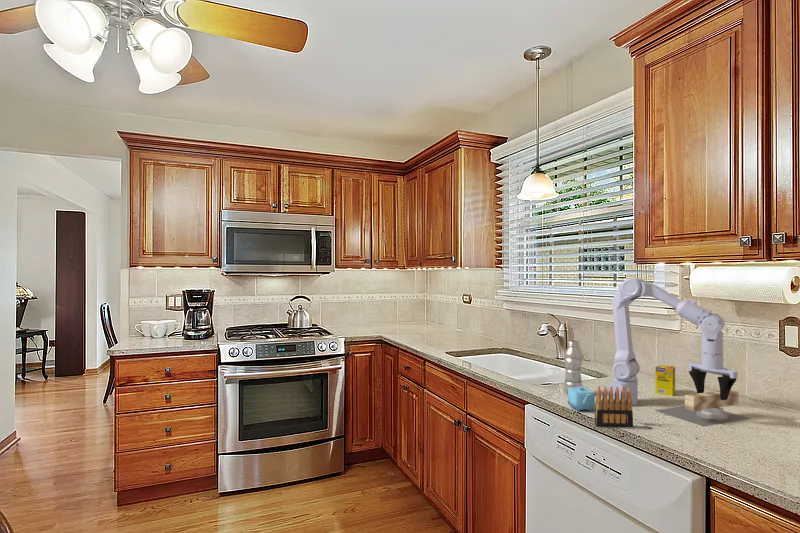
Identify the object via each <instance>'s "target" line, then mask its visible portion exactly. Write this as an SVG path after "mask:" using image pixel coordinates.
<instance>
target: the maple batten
mask: <svg viewBox="0 0 800 533" xmlns="http://www.w3.org/2000/svg"><path fill="white" fill-rule="evenodd" d="M739 402H740V393H739V391H736V390H732V389H731V390H730V392H729V395H728V399H727V400H721V399H720V390H715V391H708V392H704V393H698V394H697V393H692V394H691V393H690V394H685V395H684V406H685V408H686V409H689V410H692V411H697V410H704V409H710V408H717V407H719V408H723V407H724V408H725V407H730V406H737V405H740V403H739Z"/></svg>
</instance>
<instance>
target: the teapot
mask: <svg viewBox="0 0 800 533" xmlns="http://www.w3.org/2000/svg"><path fill="white" fill-rule="evenodd" d="M582 386H583V385H582ZM582 386H579V387H571V388H568V393H567V404H568V405H569V406H571V407H572V409H575V411H576V412H581V410H586V411H587V412H591V410H595V408H596V396H595V393H596V392H594V391H592V390H591V389H589V388H587V387H584V386H583V387H582Z"/></svg>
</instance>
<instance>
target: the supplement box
mask: <svg viewBox="0 0 800 533" xmlns="http://www.w3.org/2000/svg"><path fill="white" fill-rule="evenodd" d="M654 368H655V370H654V371H655V372H654V373H655V374H654V375H655V376H654V377H655V379H654V381H655V382H654V383H655V385H654V388H655V390H654V391H655V393H654V394H657V395H662V396H671V397H673V396H674V395H675V394H676V366H675V365H674V366H673V365H665V364H657V365H656V366H655V367H654Z"/></svg>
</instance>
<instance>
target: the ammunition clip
mask: <svg viewBox="0 0 800 533" xmlns="http://www.w3.org/2000/svg"><path fill="white" fill-rule="evenodd" d="M607 390H608V391H607ZM594 410H595V412H594V426H595V427H598V428H624V429H625V427H633V428H634V419H633V418H634V416H633V415H634V412H633V405H632V399H631V390H630V387H628V389H627V399H625V389H624V387H622V389H621V399H619V389H618V387H616V389H615V399H613V389H612V386H611V387H610V389H609V388H608V389H607V387H606V386H603V390H602V391H601V387H600V385H599V386H598V387H597V389H596V397H595V409H594Z"/></svg>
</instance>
